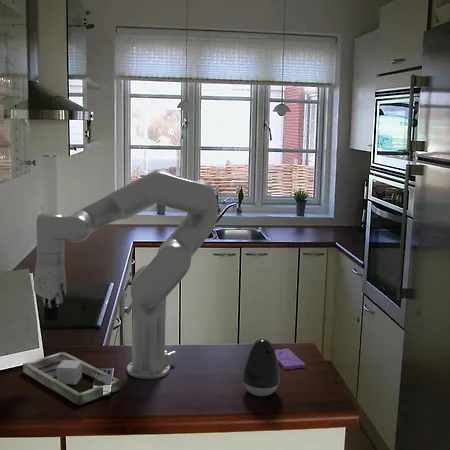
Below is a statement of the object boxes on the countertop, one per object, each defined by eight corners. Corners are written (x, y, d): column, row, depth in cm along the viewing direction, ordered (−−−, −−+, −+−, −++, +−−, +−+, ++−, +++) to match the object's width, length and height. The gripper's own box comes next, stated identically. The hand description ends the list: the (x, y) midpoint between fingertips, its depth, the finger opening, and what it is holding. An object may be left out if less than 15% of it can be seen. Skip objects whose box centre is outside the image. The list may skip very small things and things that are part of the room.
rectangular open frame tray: (63, 359, 176) (63, 351, 176) (120, 389, 158) (120, 380, 157) (23, 372, 166) (22, 363, 166) (78, 405, 148) (78, 396, 148)
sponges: (288, 353, 188) (288, 348, 188) (305, 369, 176) (305, 363, 176) (268, 355, 186) (268, 350, 186) (284, 371, 174) (284, 365, 174)
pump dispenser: (254, 404, 152) (256, 349, 149) (235, 387, 161) (237, 336, 158) (286, 396, 157) (289, 343, 154) (266, 381, 166) (269, 331, 163)
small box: (63, 375, 165) (62, 359, 165) (82, 376, 165) (82, 360, 164) (56, 384, 160) (55, 367, 159) (76, 385, 160) (76, 368, 159)
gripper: (24, 254, 164) (25, 315, 168) (53, 264, 155) (53, 329, 158) (48, 250, 170) (48, 310, 173) (77, 260, 160) (77, 323, 163)
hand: (50, 319), depth 165 cm, fingers closed
